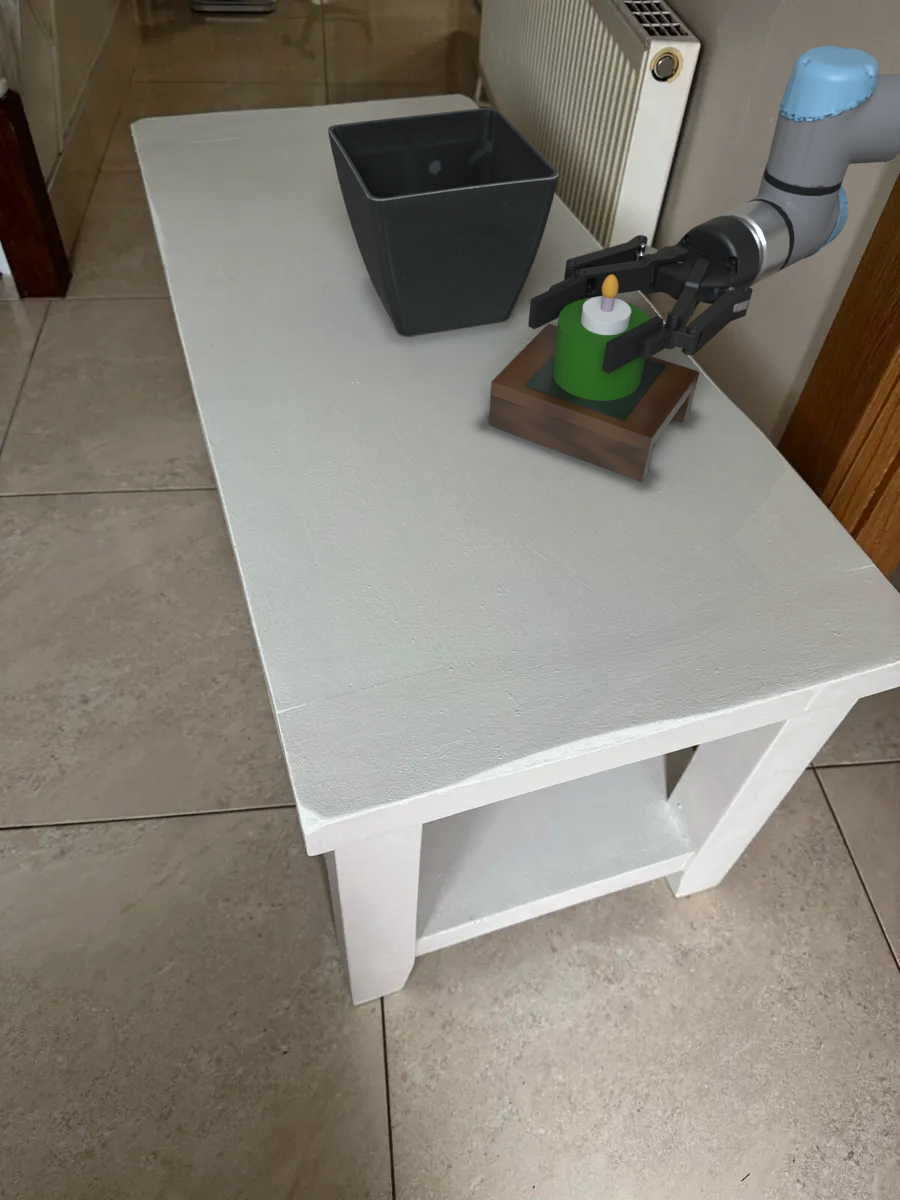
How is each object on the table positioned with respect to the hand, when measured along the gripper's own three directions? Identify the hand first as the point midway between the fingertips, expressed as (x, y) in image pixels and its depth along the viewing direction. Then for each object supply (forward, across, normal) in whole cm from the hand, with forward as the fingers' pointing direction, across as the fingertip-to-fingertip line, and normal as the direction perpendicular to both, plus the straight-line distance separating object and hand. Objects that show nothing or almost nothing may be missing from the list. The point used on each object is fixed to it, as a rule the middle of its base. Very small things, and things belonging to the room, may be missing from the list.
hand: (569, 335), depth 80 cm
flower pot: (-8, +26, -11) cm, 30 cm away
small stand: (-5, 0, -11) cm, 12 cm away
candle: (-5, 0, -6) cm, 8 cm away
